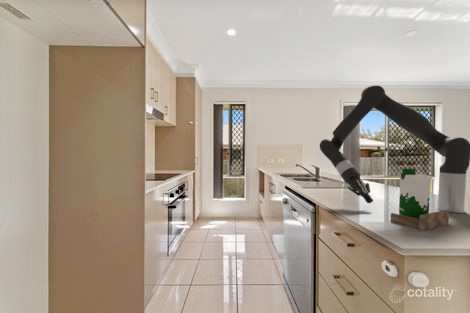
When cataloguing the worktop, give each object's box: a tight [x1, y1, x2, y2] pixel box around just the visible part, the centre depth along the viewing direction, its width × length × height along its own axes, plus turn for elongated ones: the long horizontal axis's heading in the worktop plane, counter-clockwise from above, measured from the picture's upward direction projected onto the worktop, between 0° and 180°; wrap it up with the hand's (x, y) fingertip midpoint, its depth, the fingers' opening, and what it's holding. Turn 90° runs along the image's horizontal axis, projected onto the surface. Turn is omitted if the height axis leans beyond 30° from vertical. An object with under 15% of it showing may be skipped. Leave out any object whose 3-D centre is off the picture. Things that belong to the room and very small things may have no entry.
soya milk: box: [398, 167, 432, 219], centre depth 96 cm, size 9×9×20 cm
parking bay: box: [390, 210, 450, 232], centre depth 94 cm, size 18×12×5 cm, turn 118°
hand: (370, 202), depth 111 cm, fingers closed
